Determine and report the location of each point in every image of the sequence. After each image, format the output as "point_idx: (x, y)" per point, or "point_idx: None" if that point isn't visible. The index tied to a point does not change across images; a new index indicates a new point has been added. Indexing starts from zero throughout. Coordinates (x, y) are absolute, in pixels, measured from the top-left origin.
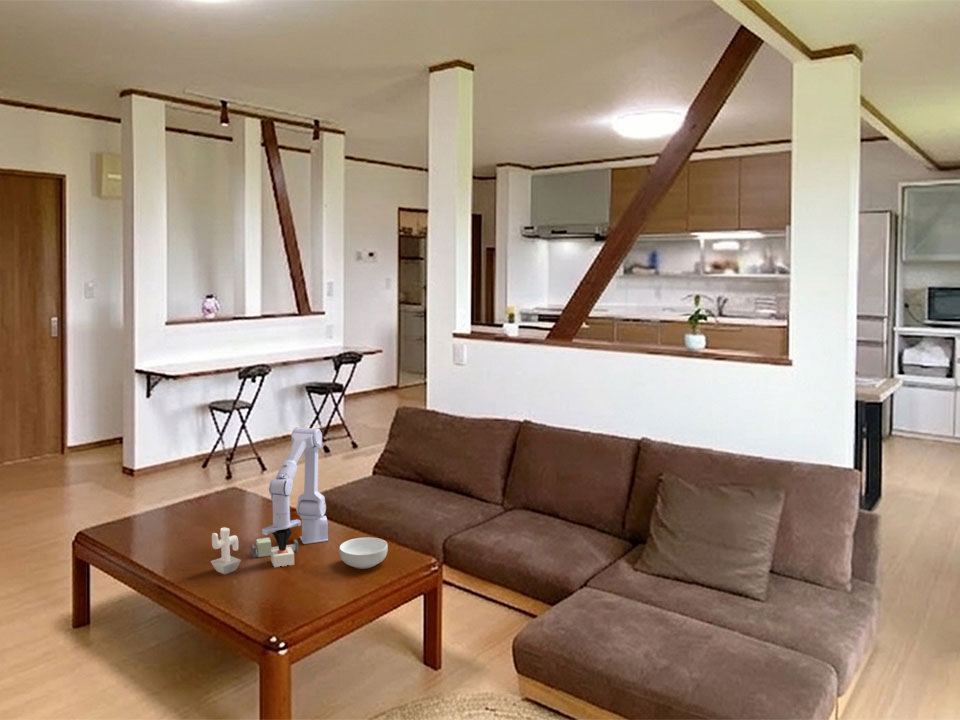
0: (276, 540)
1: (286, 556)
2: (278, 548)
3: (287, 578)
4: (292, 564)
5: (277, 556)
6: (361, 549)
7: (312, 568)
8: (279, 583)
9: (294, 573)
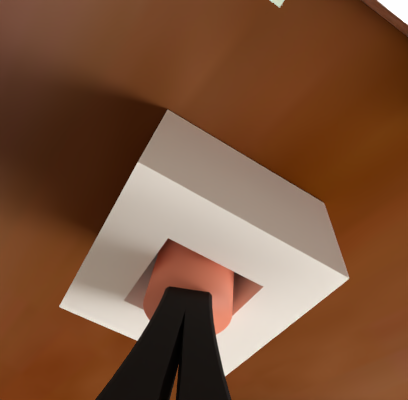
0: (104, 391)
1: None
2: (393, 11)
3: (77, 366)
4: None
5: (94, 316)
6: None
7: (248, 383)
8: (19, 370)
9: None
